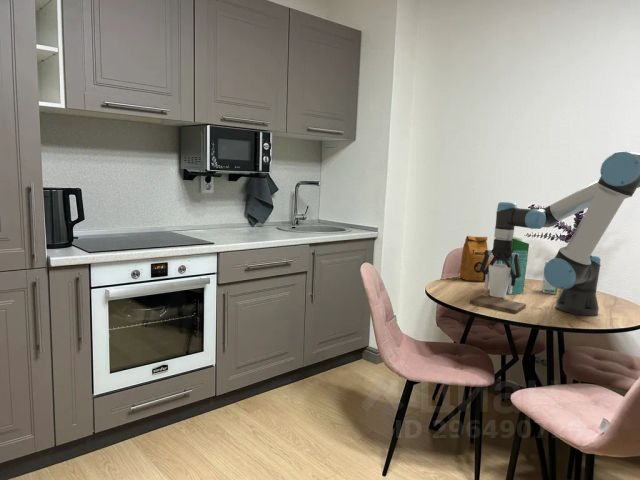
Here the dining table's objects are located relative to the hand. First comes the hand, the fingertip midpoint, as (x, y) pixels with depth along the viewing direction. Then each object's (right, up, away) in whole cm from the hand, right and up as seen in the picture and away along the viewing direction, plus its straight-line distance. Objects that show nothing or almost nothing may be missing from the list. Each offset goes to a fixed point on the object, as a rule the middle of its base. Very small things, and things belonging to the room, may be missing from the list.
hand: (497, 290), depth 208 cm
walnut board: (-5, -4, -13) cm, 15 cm away
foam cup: (0, -2, 0) cm, 2 cm away
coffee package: (0, +2, +33) cm, 33 cm away
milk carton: (+9, -2, +13) cm, 16 cm away
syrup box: (+30, -3, +17) cm, 34 cm away
